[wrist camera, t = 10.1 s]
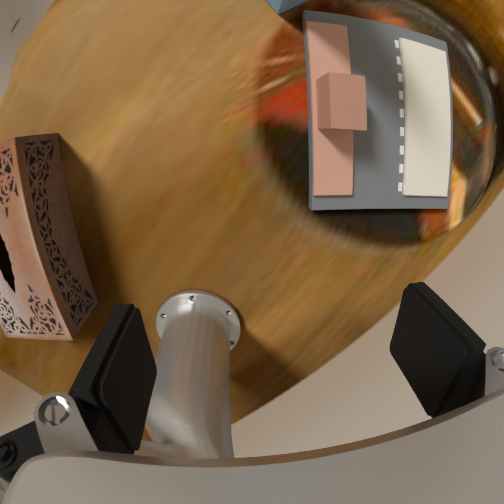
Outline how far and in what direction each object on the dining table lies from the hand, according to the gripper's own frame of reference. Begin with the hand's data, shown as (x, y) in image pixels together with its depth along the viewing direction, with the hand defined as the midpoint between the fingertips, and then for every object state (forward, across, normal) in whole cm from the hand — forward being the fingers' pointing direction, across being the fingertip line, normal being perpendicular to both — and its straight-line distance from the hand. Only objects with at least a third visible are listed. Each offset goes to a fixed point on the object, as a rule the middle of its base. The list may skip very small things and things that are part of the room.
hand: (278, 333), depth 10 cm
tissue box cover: (+29, +31, +3) cm, 43 cm away
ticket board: (+28, -19, -10) cm, 36 cm away
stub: (+27, -11, -10) cm, 30 cm away
